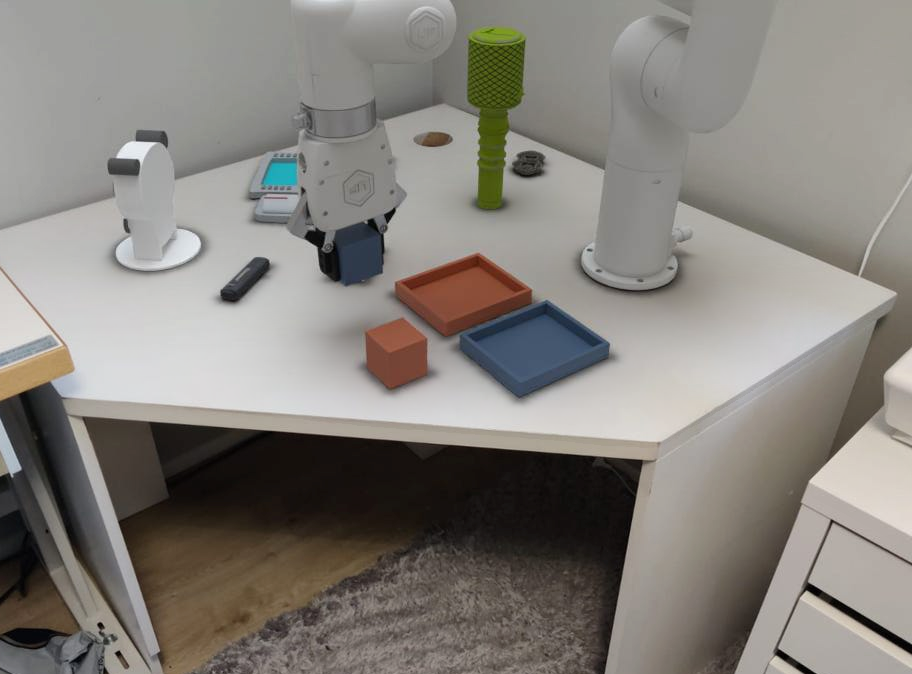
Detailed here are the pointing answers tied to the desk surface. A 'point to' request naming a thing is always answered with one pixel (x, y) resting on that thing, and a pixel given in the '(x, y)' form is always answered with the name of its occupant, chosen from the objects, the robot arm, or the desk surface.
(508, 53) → the microphone
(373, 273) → the slate block
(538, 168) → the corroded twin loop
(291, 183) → the office telephone
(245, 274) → the usb stick
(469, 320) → the terracotta tray
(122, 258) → the panda figurine
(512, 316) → the slate tray
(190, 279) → the desk surface
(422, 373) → the terracotta block
